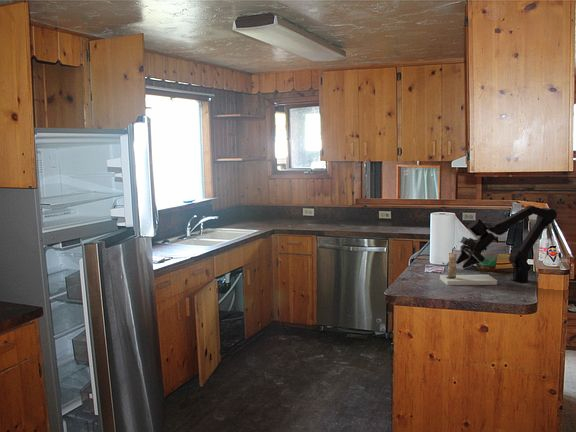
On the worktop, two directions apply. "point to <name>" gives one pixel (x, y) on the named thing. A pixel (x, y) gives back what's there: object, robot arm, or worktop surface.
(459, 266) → the light bulb box
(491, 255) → the food container
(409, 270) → the worktop surface
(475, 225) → the robot arm
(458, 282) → the board
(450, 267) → the peg
